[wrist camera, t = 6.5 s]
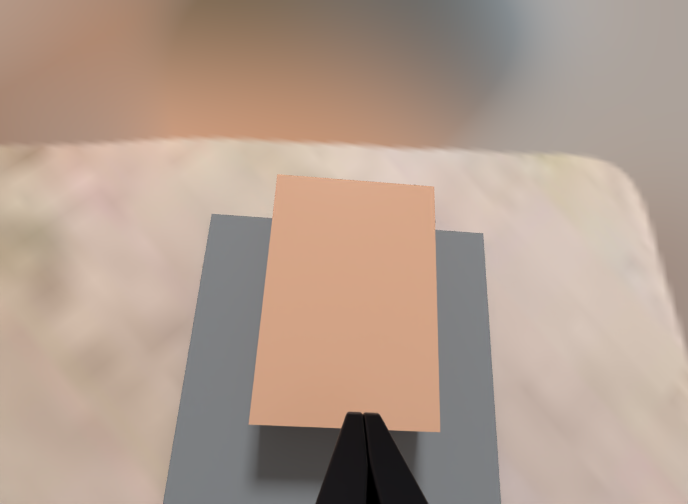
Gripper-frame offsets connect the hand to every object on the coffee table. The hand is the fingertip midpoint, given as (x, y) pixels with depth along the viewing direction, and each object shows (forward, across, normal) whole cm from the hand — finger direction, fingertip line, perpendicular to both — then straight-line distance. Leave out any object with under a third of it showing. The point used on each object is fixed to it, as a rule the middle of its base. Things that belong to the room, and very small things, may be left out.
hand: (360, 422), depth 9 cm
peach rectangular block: (+3, 0, +4) cm, 6 cm away
